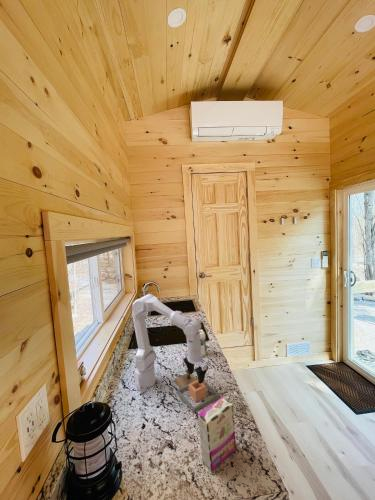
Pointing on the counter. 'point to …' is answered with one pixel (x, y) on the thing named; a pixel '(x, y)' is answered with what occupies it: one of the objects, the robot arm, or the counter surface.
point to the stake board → (185, 379)
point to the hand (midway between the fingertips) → (196, 377)
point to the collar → (197, 390)
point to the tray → (202, 402)
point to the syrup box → (203, 342)
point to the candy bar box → (217, 433)
